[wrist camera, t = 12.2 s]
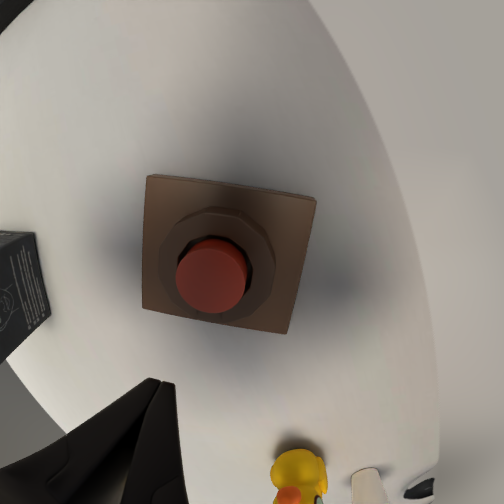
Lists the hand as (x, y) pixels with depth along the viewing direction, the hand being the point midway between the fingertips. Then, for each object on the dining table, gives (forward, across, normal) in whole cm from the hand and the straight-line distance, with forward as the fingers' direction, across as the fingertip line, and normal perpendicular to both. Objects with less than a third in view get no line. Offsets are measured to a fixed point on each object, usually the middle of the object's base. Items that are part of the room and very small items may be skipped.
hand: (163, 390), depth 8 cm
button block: (+12, 0, 0) cm, 12 cm away
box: (+12, +18, +5) cm, 22 cm away
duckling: (+12, -10, +21) cm, 26 cm away
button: (+9, 0, 0) cm, 9 cm away
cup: (+12, -20, +26) cm, 35 cm away
